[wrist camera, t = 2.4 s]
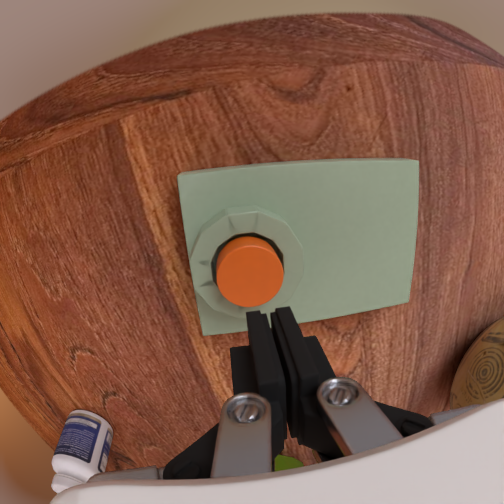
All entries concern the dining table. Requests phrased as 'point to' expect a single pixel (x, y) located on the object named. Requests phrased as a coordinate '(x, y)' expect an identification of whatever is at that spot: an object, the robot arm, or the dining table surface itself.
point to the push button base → (305, 234)
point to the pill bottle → (81, 449)
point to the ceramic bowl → (481, 370)
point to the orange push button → (248, 272)
